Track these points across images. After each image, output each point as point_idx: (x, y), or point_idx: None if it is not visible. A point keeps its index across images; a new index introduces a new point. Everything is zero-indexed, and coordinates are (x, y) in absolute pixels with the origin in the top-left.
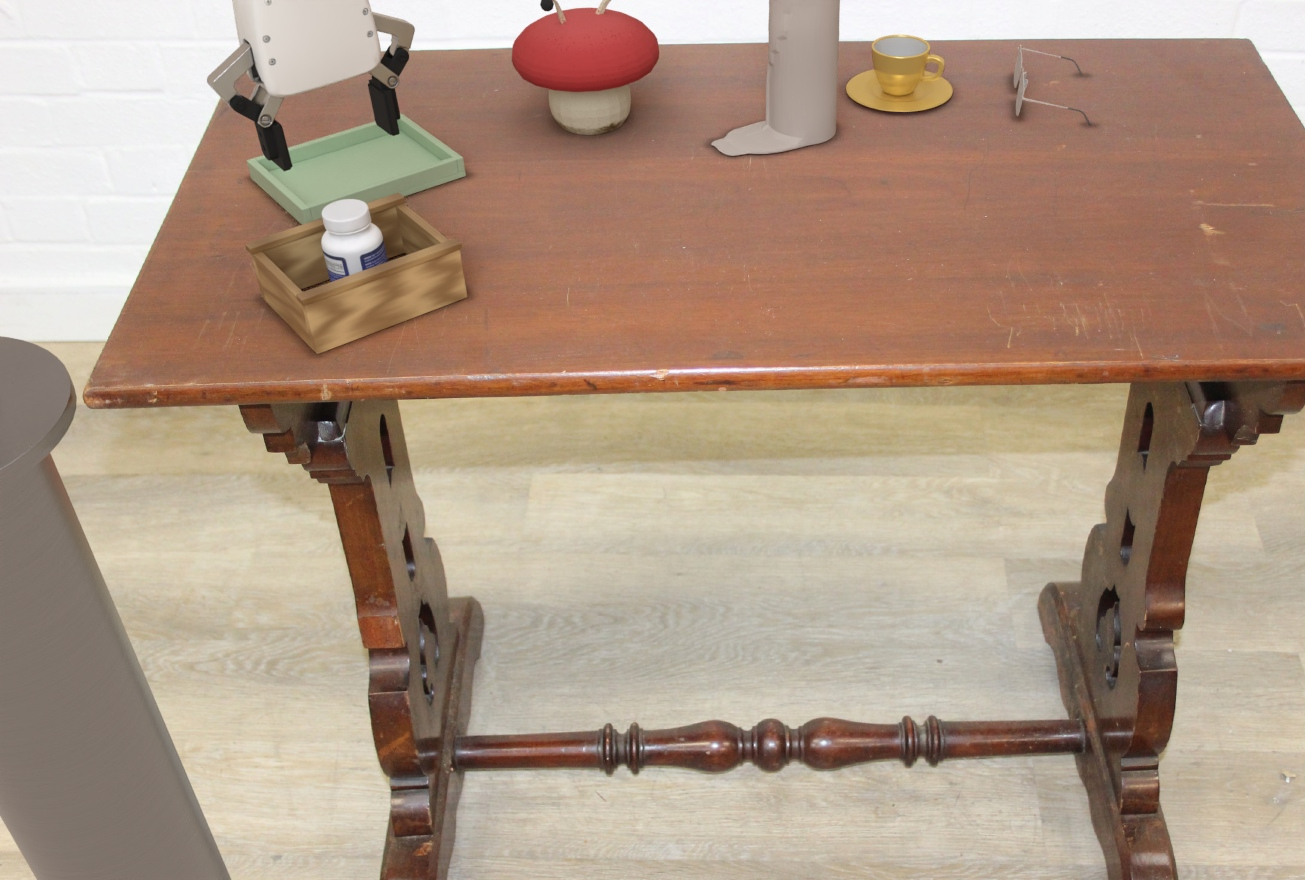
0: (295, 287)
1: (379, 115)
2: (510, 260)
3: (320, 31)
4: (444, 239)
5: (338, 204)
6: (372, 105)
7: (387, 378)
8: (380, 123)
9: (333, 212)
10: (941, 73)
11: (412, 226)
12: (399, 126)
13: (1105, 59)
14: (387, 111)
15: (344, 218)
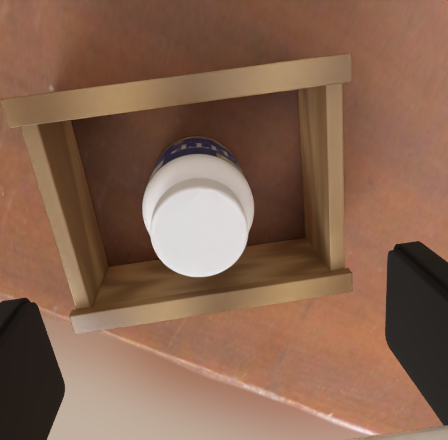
0: (76, 273)
1: (410, 314)
2: (411, 185)
3: None
4: (339, 246)
5: (194, 205)
6: (425, 287)
7: (165, 355)
8: (394, 291)
9: (174, 234)
10: None
11: (321, 145)
12: None
13: None
14: (430, 405)
15: (187, 267)
